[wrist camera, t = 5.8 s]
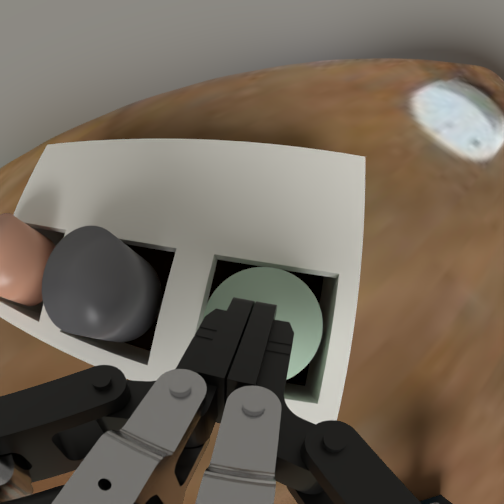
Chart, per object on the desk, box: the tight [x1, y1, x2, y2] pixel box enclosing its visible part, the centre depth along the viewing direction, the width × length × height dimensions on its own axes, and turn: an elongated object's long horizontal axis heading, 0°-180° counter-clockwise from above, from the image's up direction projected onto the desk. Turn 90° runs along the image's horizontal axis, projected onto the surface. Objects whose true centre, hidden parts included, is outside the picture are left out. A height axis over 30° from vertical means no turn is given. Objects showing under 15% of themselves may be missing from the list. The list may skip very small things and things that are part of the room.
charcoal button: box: [42, 226, 162, 343], centre depth 14 cm, size 5×5×4 cm
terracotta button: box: [0, 213, 56, 306], centre depth 15 cm, size 5×5×4 cm
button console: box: [0, 139, 365, 424], centre depth 20 cm, size 24×14×9 cm, turn 79°
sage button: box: [203, 267, 323, 380], centre depth 14 cm, size 5×5×4 cm
